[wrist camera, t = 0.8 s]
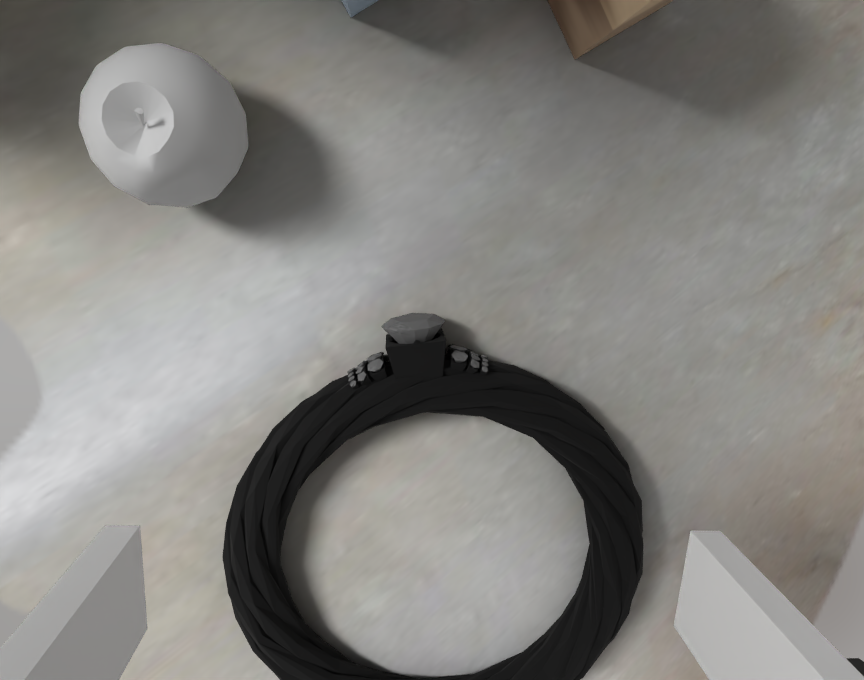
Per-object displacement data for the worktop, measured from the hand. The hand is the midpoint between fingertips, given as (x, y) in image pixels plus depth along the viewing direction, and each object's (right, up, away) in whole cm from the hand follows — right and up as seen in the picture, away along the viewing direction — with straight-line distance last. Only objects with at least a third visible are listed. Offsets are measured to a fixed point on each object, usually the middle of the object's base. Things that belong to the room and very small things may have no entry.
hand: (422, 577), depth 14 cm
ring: (0, -7, +26) cm, 27 cm away
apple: (-13, +17, +19) cm, 29 cm away
